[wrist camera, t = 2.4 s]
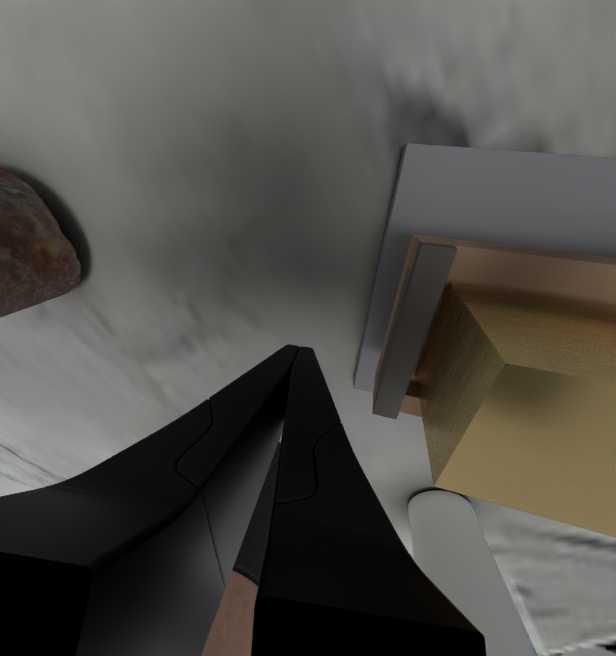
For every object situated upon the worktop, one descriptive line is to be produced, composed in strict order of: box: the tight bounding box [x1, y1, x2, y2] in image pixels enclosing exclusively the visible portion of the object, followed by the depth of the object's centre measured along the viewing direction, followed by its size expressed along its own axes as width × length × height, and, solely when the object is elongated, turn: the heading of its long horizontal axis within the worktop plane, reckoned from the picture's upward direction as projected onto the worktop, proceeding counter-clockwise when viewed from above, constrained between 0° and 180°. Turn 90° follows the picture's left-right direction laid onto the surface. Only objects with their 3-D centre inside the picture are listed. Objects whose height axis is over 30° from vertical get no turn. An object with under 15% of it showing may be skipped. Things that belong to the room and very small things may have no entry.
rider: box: [415, 282, 616, 537], centre depth 8 cm, size 6×4×5 cm
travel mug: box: [201, 443, 281, 656], centre depth 15 cm, size 8×8×20 cm
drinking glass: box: [408, 490, 538, 656], centre depth 16 cm, size 7×7×15 cm
